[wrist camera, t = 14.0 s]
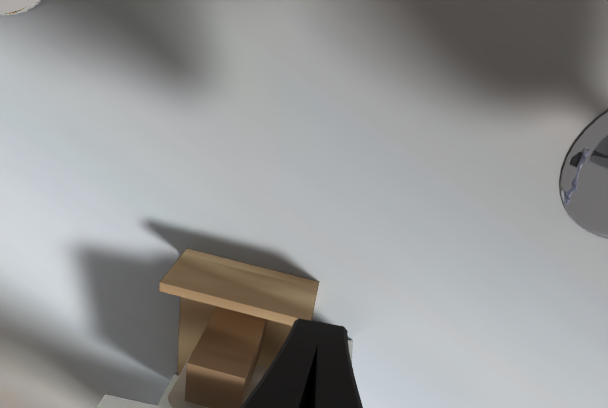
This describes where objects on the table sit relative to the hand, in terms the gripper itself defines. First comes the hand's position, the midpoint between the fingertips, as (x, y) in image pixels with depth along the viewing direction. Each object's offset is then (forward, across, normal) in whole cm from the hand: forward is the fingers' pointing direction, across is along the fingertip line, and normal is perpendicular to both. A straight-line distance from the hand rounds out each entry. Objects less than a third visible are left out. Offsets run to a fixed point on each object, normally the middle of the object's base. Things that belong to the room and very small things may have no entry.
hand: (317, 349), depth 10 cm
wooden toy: (+10, +5, +10) cm, 15 cm away
